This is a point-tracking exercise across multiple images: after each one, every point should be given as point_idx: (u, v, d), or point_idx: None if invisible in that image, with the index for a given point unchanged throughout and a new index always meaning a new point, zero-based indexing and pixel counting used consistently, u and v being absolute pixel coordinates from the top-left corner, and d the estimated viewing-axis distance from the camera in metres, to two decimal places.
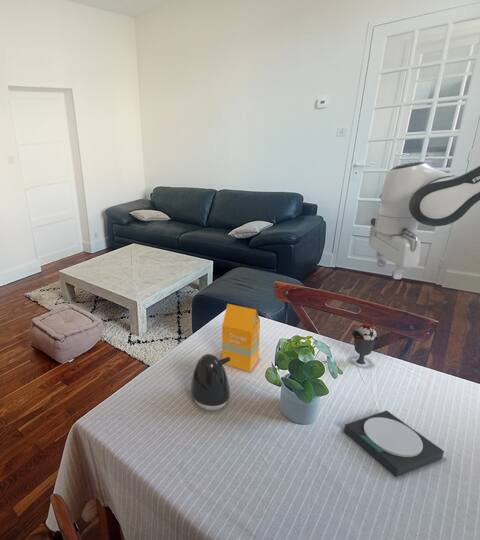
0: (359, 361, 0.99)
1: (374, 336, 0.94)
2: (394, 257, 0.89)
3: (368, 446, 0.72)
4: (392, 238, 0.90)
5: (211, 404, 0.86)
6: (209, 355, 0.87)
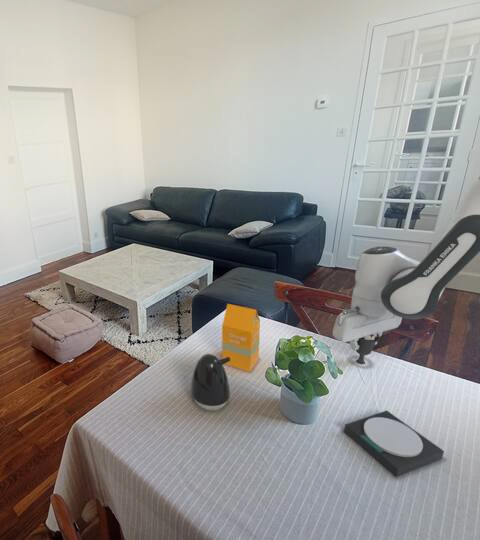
0: (359, 361, 0.99)
1: (374, 336, 0.94)
2: None
3: (368, 446, 0.72)
4: None
5: (211, 404, 0.86)
6: (209, 355, 0.87)
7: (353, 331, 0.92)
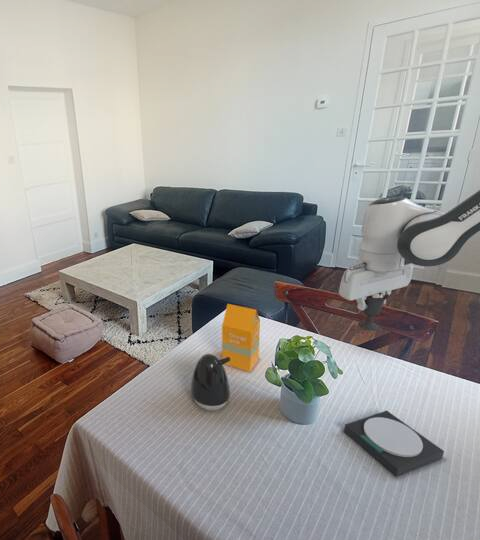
0: (367, 323, 0.94)
1: (383, 294, 0.90)
2: None
3: (368, 446, 0.72)
4: None
5: (211, 404, 0.86)
6: (209, 355, 0.87)
7: (361, 288, 0.87)
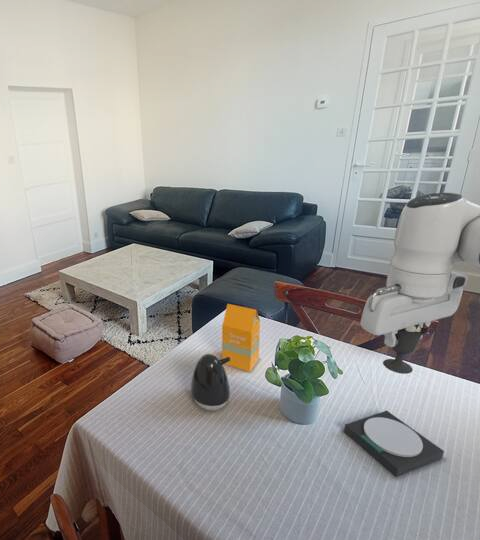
0: (396, 362, 0.71)
1: (420, 327, 0.66)
2: None
3: (368, 446, 0.72)
4: None
5: (211, 404, 0.86)
6: (209, 355, 0.87)
7: (391, 319, 0.64)
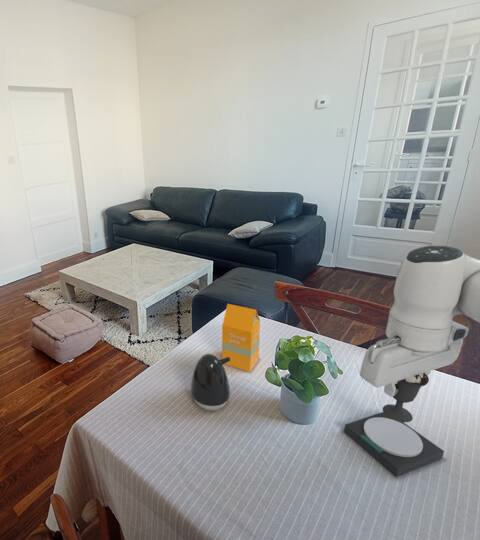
0: (396, 410, 0.70)
1: (420, 377, 0.65)
2: None
3: (368, 446, 0.72)
4: None
5: (211, 404, 0.86)
6: (209, 355, 0.87)
7: (391, 372, 0.63)
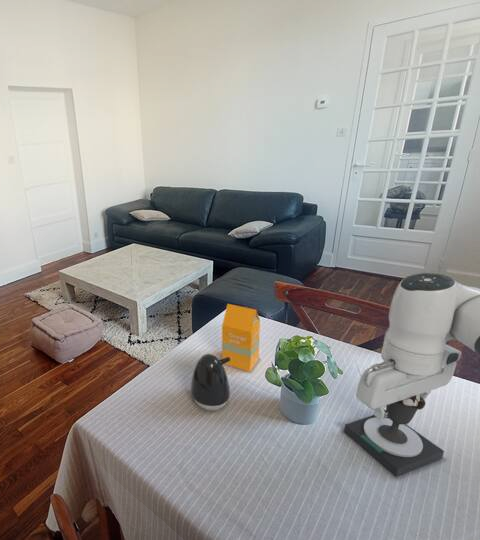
0: (392, 431, 0.72)
1: (417, 400, 0.67)
2: None
3: (368, 446, 0.72)
4: None
5: (211, 404, 0.86)
6: (209, 355, 0.87)
7: (387, 394, 0.65)
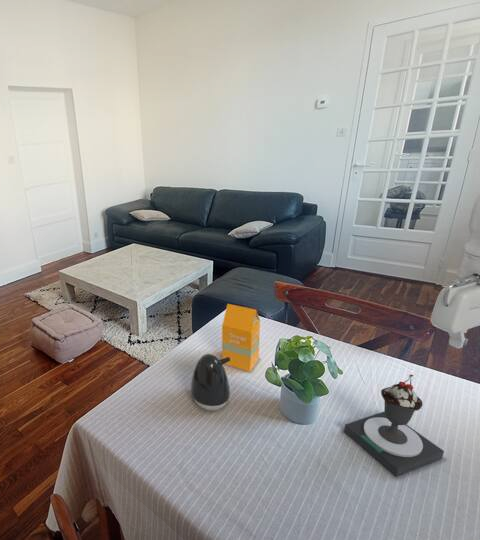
0: (391, 431, 0.72)
1: (414, 401, 0.67)
2: None
3: (368, 446, 0.72)
4: None
5: (211, 404, 0.86)
6: (209, 355, 0.87)
7: (470, 315, 0.55)
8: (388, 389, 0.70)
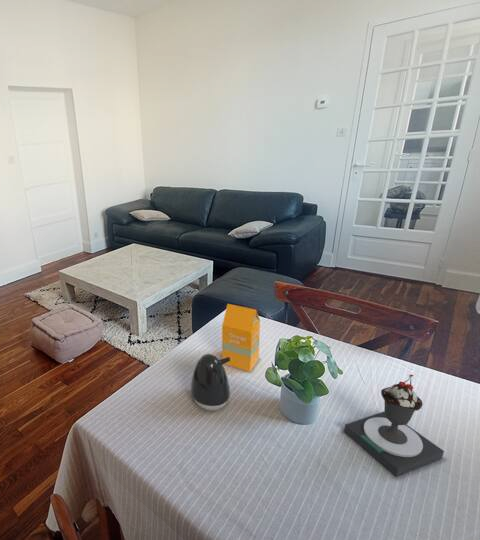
0: (391, 431, 0.72)
1: (414, 401, 0.67)
2: None
3: (368, 446, 0.72)
4: None
5: (211, 404, 0.86)
6: (209, 355, 0.87)
7: None
8: (388, 389, 0.70)
